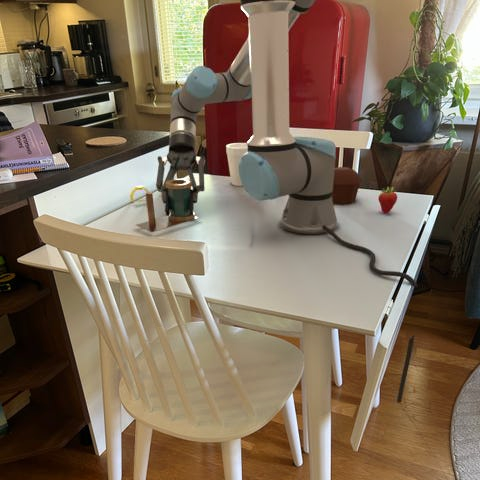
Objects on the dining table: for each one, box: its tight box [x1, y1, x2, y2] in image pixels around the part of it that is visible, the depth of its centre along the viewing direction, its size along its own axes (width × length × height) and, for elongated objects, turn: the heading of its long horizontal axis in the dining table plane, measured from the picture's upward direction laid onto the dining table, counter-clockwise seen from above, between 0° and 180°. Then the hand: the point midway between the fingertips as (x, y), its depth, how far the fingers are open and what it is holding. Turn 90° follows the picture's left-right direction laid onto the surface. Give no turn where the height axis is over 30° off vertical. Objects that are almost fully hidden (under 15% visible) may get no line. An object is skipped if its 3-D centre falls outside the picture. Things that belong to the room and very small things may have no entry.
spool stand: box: [135, 191, 199, 233], centre depth 132 cm, size 16×8×10 cm, turn 133°
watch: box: [130, 184, 149, 203], centre depth 150 cm, size 6×3×6 cm, turn 119°
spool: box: [165, 178, 196, 222], centre depth 134 cm, size 7×7×10 cm
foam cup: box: [225, 142, 248, 187], centre depth 169 cm, size 10×9×13 cm
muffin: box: [332, 166, 363, 206], centre depth 150 cm, size 12×11×10 cm
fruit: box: [377, 186, 398, 214], centre depth 139 cm, size 5×5×8 cm
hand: (179, 212), depth 132 cm, fingers closed on spool, 6 cm apart
